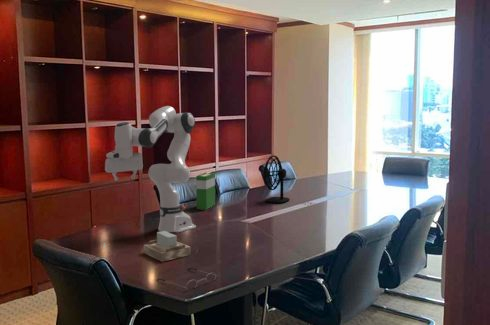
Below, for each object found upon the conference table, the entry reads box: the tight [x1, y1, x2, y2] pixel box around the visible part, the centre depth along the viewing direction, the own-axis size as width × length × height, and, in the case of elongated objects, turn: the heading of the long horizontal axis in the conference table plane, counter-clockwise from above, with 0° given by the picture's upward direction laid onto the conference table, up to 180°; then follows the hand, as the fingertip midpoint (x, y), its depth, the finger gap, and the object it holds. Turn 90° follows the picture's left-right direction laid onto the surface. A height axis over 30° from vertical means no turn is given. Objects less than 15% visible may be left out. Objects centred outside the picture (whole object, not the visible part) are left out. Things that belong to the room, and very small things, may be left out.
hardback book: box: [195, 172, 216, 211], centre depth 340 cm, size 18×7×24 cm, turn 164°
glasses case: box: [156, 231, 178, 248], centre depth 234 cm, size 4×12×6 cm, turn 38°
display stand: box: [142, 239, 192, 263], centre depth 234 cm, size 16×18×6 cm
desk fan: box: [262, 154, 291, 204], centre depth 361 cm, size 27×18×35 cm, turn 150°
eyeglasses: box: [156, 267, 218, 291], centre depth 199 cm, size 18×19×4 cm
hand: (124, 179), depth 250 cm, fingers open, 8 cm apart
